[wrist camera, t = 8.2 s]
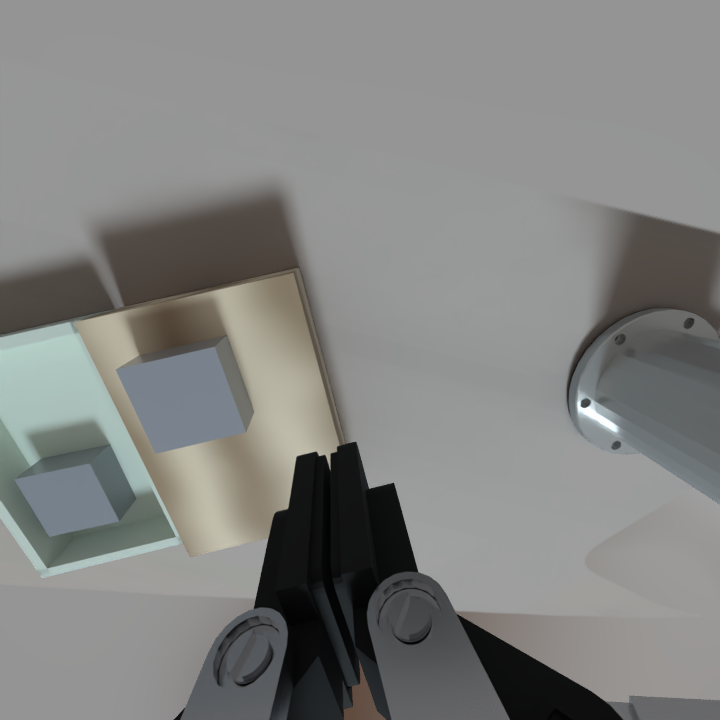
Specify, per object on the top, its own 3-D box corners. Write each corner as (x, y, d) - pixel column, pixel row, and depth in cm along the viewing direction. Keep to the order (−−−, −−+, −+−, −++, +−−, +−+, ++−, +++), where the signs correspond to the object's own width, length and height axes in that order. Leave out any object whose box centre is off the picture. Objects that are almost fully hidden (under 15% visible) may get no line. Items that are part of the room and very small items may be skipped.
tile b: (227, 334, 20) (214, 346, 17) (254, 412, 21) (246, 432, 19) (139, 355, 20) (115, 369, 17) (173, 431, 21) (155, 453, 19)
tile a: (14, 479, 23) (41, 458, 26) (49, 536, 25) (71, 512, 27) (89, 463, 23) (110, 444, 26) (119, 521, 25) (136, 498, 27)
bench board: (299, 267, 24) (293, 272, 19) (352, 471, 29) (358, 515, 25) (124, 306, 23) (73, 322, 19) (211, 506, 29) (189, 557, 24)
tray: (115, 308, 23) (81, 319, 20) (204, 508, 29) (189, 542, 26) (-47, 345, 23) (-109, 362, 20) (74, 539, 29) (42, 578, 25)
